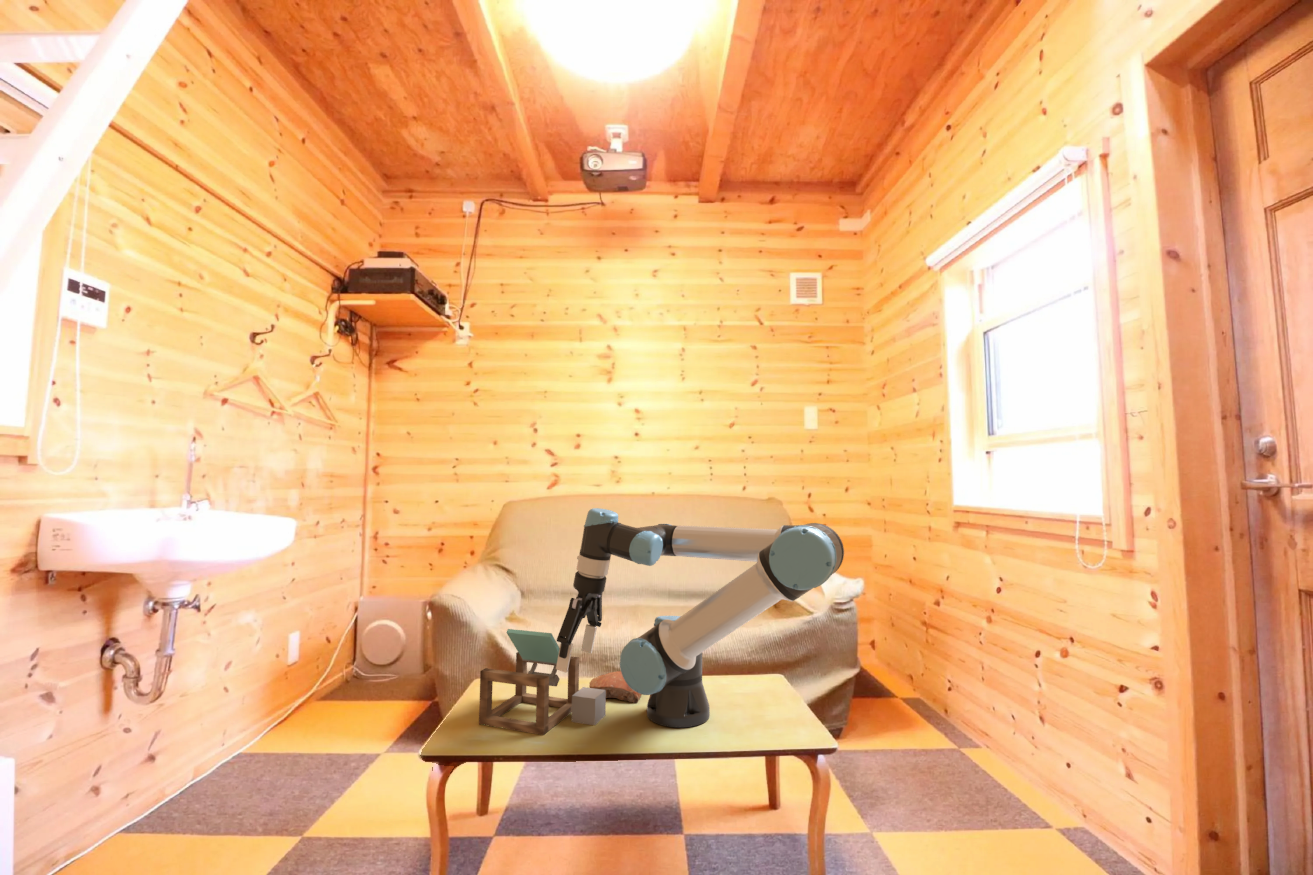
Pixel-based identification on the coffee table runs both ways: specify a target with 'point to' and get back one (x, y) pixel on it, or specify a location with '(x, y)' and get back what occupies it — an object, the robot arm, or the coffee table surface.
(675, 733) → the coffee table surface
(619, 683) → the ceramic shard
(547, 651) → the trapdoor
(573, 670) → the frame
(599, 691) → the gray cube
